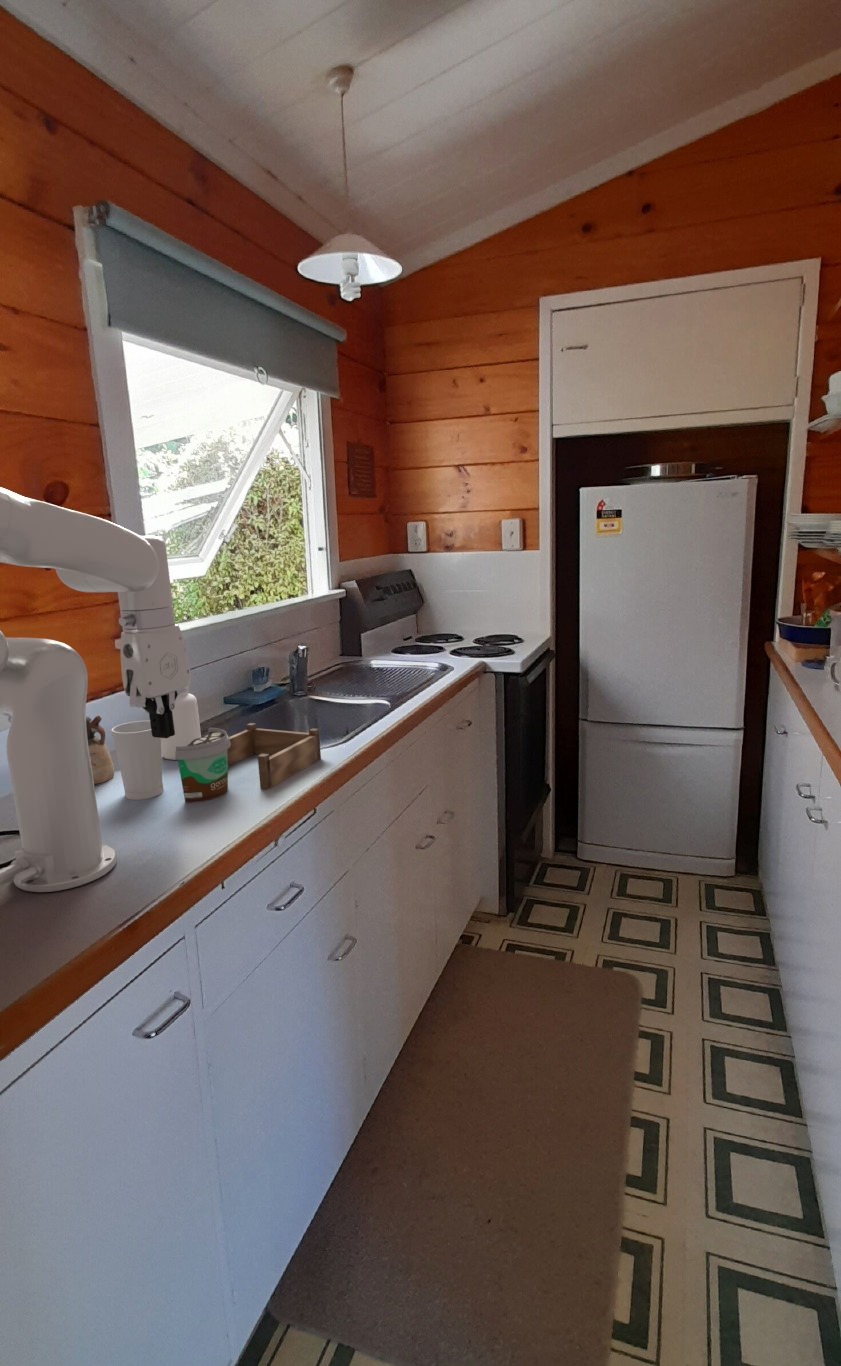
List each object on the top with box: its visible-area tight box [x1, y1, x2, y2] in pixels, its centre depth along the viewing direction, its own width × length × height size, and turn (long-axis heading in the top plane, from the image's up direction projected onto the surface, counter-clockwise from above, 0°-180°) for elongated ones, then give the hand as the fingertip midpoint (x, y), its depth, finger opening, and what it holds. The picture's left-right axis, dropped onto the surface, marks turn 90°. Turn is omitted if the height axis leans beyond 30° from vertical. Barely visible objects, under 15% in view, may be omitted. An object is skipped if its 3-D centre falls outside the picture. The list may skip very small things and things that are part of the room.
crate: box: [227, 722, 322, 791], centre depth 138 cm, size 18×16×6 cm
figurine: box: [86, 715, 115, 785], centre depth 136 cm, size 7×7×12 cm
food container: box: [174, 727, 231, 803], centre depth 126 cm, size 12×6×10 cm, turn 168°
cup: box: [111, 720, 164, 801], centre depth 127 cm, size 8×8×12 cm
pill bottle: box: [161, 684, 202, 761], centre depth 148 cm, size 8×8×15 cm
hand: (163, 735), depth 115 cm, fingers closed
